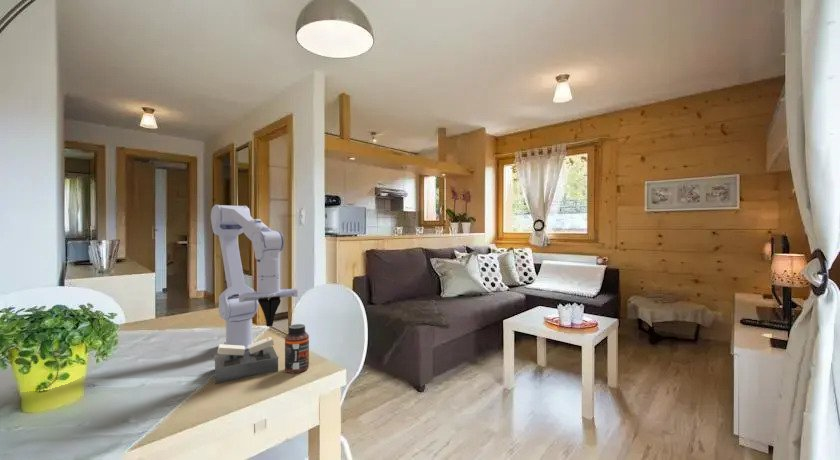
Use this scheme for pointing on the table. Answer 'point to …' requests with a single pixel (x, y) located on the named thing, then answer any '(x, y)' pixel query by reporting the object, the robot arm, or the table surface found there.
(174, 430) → the table surface
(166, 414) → the table surface
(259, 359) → the rocker switch box
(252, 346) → the rocker
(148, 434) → the table surface
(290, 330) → the supplement bottle
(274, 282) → the robot arm
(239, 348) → the block
